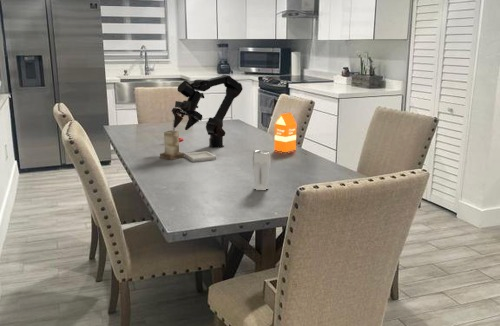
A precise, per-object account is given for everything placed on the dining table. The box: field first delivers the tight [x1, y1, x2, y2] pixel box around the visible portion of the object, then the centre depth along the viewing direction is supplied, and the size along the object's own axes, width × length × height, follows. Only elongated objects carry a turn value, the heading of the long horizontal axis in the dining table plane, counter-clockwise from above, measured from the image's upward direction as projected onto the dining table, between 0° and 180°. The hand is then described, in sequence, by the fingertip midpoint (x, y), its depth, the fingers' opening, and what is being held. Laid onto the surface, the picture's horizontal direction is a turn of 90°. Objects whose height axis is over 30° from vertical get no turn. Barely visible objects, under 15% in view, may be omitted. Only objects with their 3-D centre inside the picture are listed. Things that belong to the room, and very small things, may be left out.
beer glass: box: [252, 149, 271, 191], centre depth 189 cm, size 7×7×15 cm
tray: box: [184, 150, 217, 163], centre depth 240 cm, size 12×12×2 cm
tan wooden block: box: [163, 129, 180, 155], centre depth 240 cm, size 5×5×13 cm
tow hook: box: [172, 119, 184, 143], centre depth 281 cm, size 8×13×9 cm
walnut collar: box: [159, 151, 185, 161], centre depth 241 cm, size 8×8×2 cm
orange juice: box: [274, 112, 297, 153], centre depth 256 cm, size 8×9×20 cm
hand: (180, 128), depth 246 cm, fingers open, 9 cm apart
